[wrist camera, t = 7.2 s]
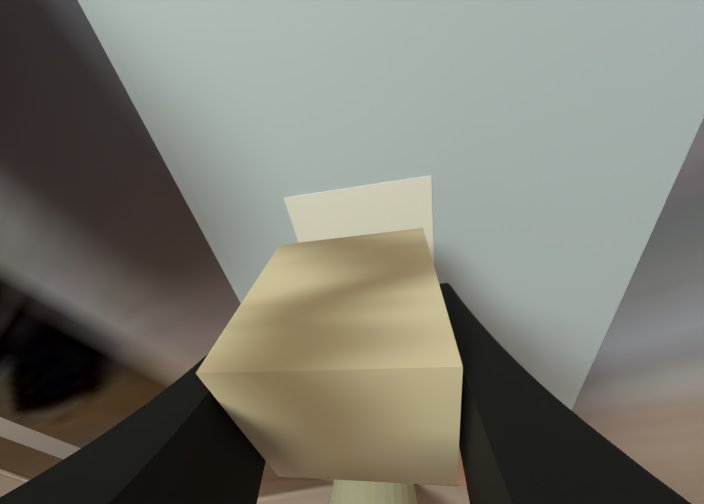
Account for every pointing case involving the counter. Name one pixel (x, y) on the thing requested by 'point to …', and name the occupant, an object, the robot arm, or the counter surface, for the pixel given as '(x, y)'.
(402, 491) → the reusable coffee cup
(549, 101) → the pale blue flat sheet
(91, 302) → the counter surface
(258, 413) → the maple block
